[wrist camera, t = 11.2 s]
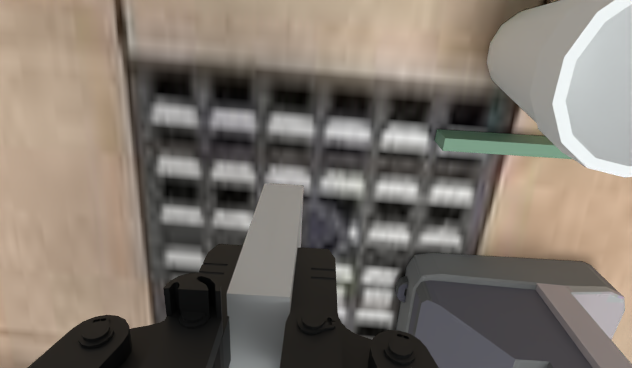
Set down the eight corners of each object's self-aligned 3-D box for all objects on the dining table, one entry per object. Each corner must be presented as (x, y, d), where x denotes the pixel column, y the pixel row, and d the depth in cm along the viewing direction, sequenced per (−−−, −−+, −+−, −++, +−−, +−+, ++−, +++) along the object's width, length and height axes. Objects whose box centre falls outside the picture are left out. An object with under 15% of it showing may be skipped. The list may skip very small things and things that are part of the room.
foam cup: (479, -18, 29) (587, -35, 17) (610, -16, 29) (813, -31, 17) (458, 113, 32) (534, 175, 21) (573, 116, 32) (717, 179, 20)
